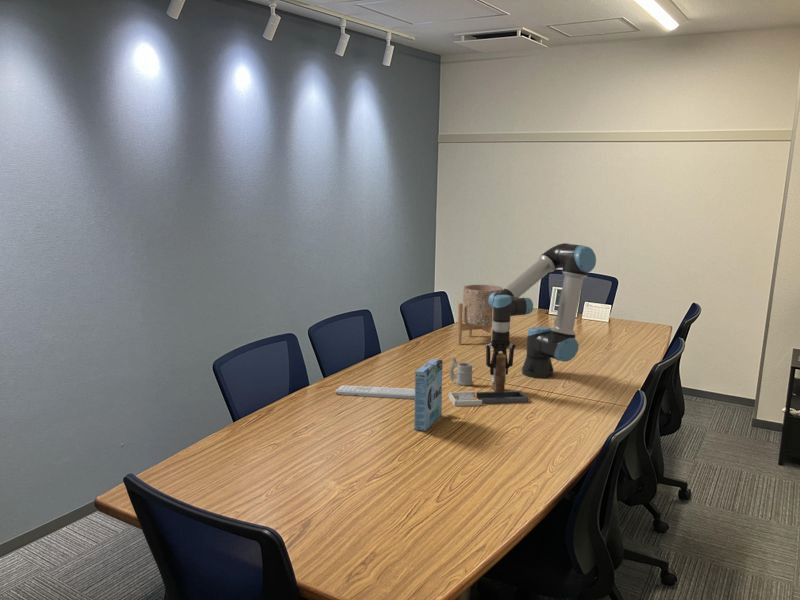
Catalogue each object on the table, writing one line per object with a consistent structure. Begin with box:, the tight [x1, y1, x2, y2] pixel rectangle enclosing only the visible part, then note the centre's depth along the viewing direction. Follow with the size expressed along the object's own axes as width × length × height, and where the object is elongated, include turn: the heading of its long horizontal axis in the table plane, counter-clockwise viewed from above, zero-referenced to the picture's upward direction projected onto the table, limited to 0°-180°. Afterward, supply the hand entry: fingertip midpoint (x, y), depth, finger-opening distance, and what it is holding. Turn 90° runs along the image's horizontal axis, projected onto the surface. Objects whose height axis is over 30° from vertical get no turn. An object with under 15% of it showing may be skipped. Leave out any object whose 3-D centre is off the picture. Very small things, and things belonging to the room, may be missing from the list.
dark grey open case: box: [475, 390, 529, 405], centre depth 284 cm, size 20×10×3 cm, turn 99°
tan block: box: [491, 352, 506, 392], centre depth 295 cm, size 4×5×17 cm
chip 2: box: [463, 391, 474, 400], centre depth 282 cm, size 3×4×4 cm
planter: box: [456, 284, 504, 350], centre depth 383 cm, size 22×23×32 cm
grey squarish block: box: [456, 391, 466, 401], centre depth 281 cm, size 3×4×4 cm
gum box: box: [413, 358, 443, 432], centre depth 257 cm, size 20×5×23 cm, turn 158°
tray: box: [447, 390, 483, 407], centre depth 282 cm, size 12×12×3 cm
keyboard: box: [335, 384, 415, 400], centre depth 293 cm, size 44×12×2 cm, turn 83°
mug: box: [449, 357, 474, 387], centre depth 306 cm, size 8×12×12 cm, turn 55°
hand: (498, 381), depth 296 cm, fingers closed on tan block, 4 cm apart
